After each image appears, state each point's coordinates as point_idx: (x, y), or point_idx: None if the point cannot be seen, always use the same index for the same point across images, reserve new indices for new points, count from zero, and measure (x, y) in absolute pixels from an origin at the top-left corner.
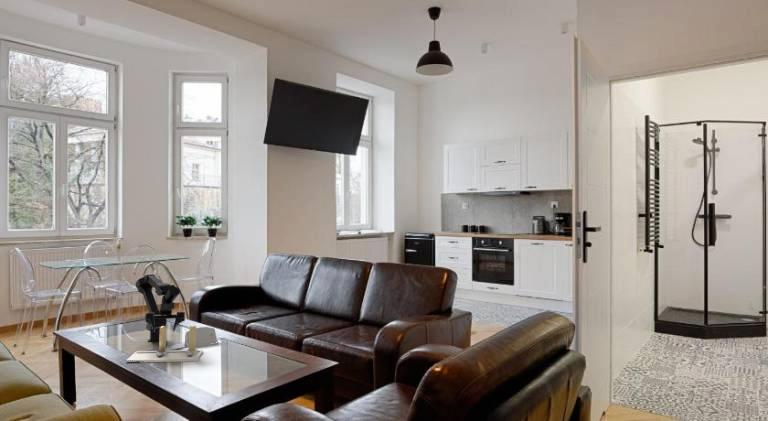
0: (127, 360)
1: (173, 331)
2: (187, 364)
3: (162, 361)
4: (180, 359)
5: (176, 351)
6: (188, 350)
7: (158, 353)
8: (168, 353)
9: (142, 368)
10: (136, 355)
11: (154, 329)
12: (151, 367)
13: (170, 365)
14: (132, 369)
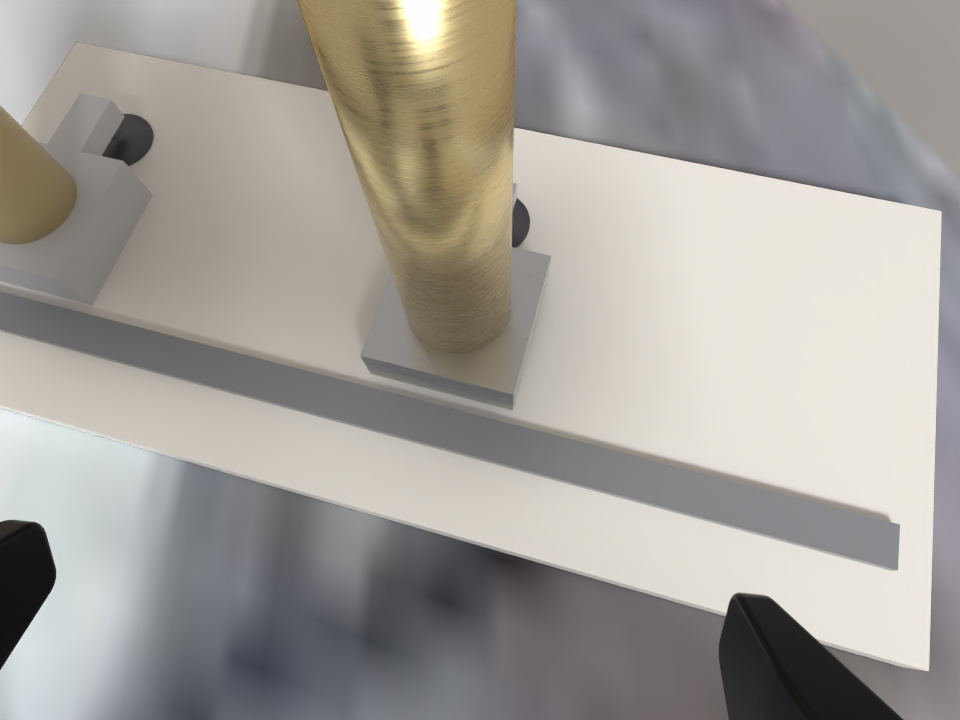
0: (917, 209)
1: (49, 563)
2: (211, 2)
3: None
4: (253, 80)
5: (244, 377)
6: (80, 203)
7: (514, 185)
8: None
9: (666, 7)
10: (851, 393)
11: (761, 646)
12: (575, 11)
13: None
14: (767, 5)
